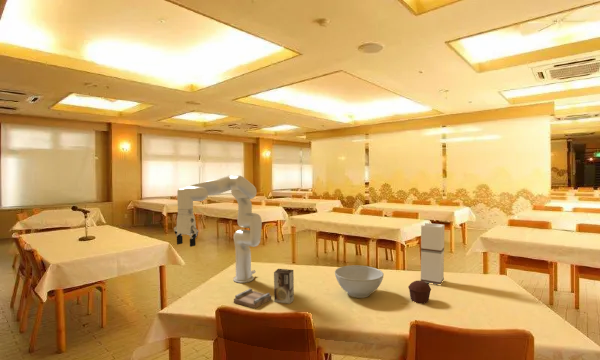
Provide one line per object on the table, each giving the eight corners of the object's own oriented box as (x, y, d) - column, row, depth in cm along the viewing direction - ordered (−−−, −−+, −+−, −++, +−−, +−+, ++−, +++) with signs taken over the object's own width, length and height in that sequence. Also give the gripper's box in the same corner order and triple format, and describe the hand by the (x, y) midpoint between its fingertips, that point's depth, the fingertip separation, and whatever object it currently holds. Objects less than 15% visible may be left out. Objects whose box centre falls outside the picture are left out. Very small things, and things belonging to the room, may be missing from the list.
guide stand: (251, 294, 188) (251, 287, 188) (271, 299, 181) (271, 292, 181) (233, 302, 176) (233, 296, 176) (254, 308, 169) (254, 301, 169)
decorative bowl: (387, 289, 195) (387, 268, 194) (377, 306, 170) (377, 283, 170) (343, 282, 206) (343, 263, 205) (328, 298, 182) (327, 276, 181)
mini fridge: (443, 280, 209) (444, 224, 207) (440, 285, 200) (441, 227, 198) (424, 277, 215) (425, 223, 213) (420, 282, 206) (421, 225, 204)
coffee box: (294, 299, 180) (294, 269, 180) (290, 304, 174) (289, 273, 174) (278, 297, 183) (278, 268, 183) (273, 301, 177) (273, 271, 177)
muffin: (419, 306, 171) (419, 286, 170) (403, 298, 181) (403, 280, 180) (435, 301, 176) (436, 283, 176) (419, 294, 186) (419, 276, 186)
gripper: (203, 212, 171) (203, 245, 172) (180, 210, 180) (180, 241, 181) (191, 214, 165) (192, 248, 166) (168, 211, 174) (168, 244, 174)
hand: (186, 245), depth 173 cm, fingers open, 9 cm apart
